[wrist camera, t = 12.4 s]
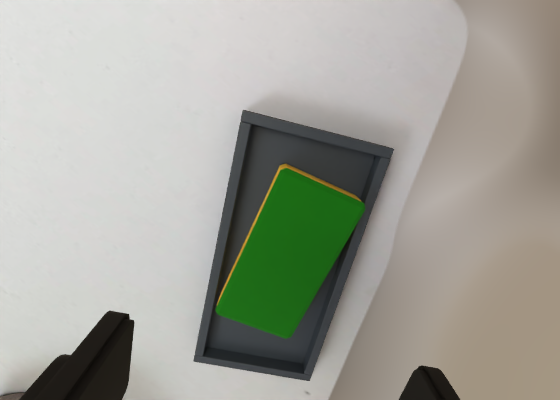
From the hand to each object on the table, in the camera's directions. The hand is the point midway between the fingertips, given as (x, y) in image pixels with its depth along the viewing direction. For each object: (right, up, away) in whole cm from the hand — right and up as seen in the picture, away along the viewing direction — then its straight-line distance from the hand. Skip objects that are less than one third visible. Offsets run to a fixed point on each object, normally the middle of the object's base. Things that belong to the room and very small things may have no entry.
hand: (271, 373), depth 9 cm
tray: (0, 0, +16) cm, 16 cm away
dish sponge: (+1, +1, +15) cm, 15 cm away
